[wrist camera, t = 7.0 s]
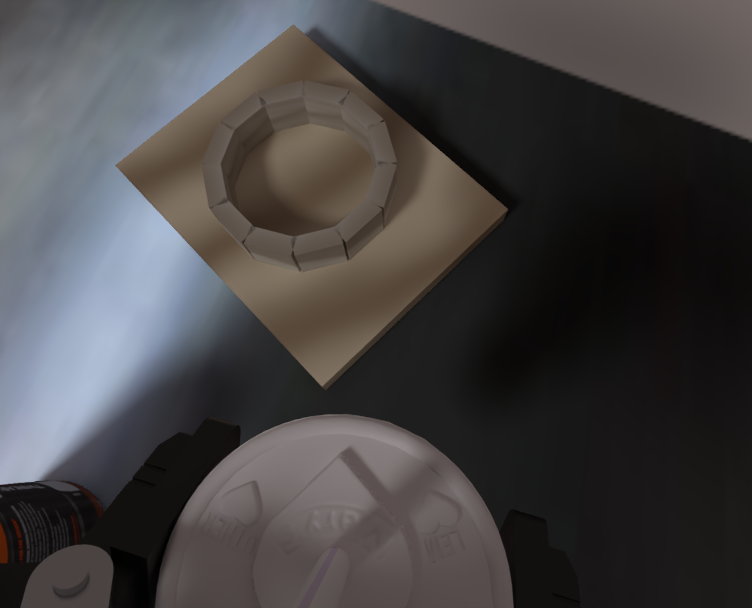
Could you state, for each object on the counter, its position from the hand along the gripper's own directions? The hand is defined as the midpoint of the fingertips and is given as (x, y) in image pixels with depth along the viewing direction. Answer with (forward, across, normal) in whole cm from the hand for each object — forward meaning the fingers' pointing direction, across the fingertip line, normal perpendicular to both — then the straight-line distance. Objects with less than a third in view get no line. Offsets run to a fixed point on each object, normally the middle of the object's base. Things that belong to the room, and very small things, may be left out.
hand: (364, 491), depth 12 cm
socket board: (+21, +8, +1) cm, 22 cm away
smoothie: (+4, 0, +6) cm, 7 cm away
